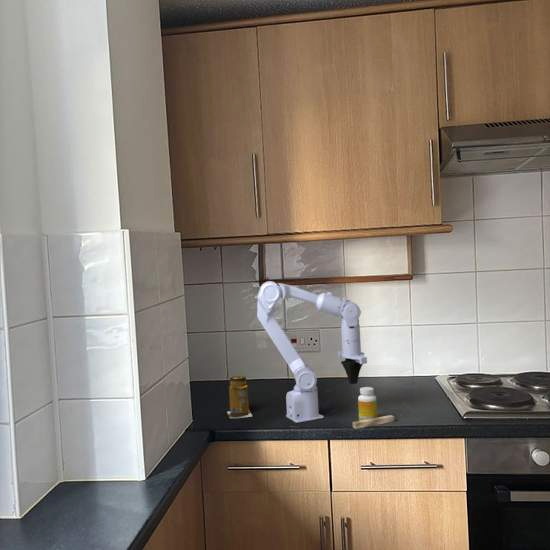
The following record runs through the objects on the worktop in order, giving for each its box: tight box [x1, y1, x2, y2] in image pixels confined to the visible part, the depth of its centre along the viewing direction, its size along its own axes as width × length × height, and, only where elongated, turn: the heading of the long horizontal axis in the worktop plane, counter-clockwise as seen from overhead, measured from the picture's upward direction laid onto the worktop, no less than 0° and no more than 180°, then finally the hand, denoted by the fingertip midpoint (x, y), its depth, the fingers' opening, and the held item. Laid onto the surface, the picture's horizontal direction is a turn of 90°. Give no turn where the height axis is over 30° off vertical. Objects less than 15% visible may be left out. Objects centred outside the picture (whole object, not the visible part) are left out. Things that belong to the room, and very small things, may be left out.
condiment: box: [226, 375, 253, 419], centre depth 184 cm, size 7×8×12 cm
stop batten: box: [352, 414, 395, 430], centre depth 166 cm, size 13×2×2 cm, turn 112°
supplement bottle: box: [357, 386, 378, 421], centre depth 170 cm, size 5×5×10 cm
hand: (353, 383), depth 177 cm, fingers closed
